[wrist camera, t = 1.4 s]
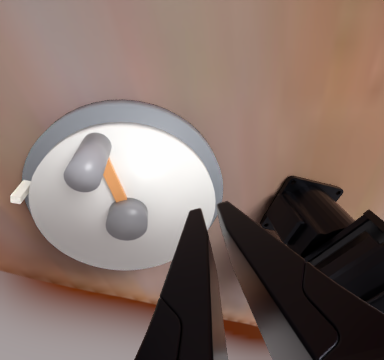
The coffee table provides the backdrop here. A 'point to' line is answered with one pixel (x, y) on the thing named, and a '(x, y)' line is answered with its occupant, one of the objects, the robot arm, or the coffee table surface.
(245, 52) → the coffee table surface
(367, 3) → the coffee table surface
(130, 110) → the base plate
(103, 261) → the dial
